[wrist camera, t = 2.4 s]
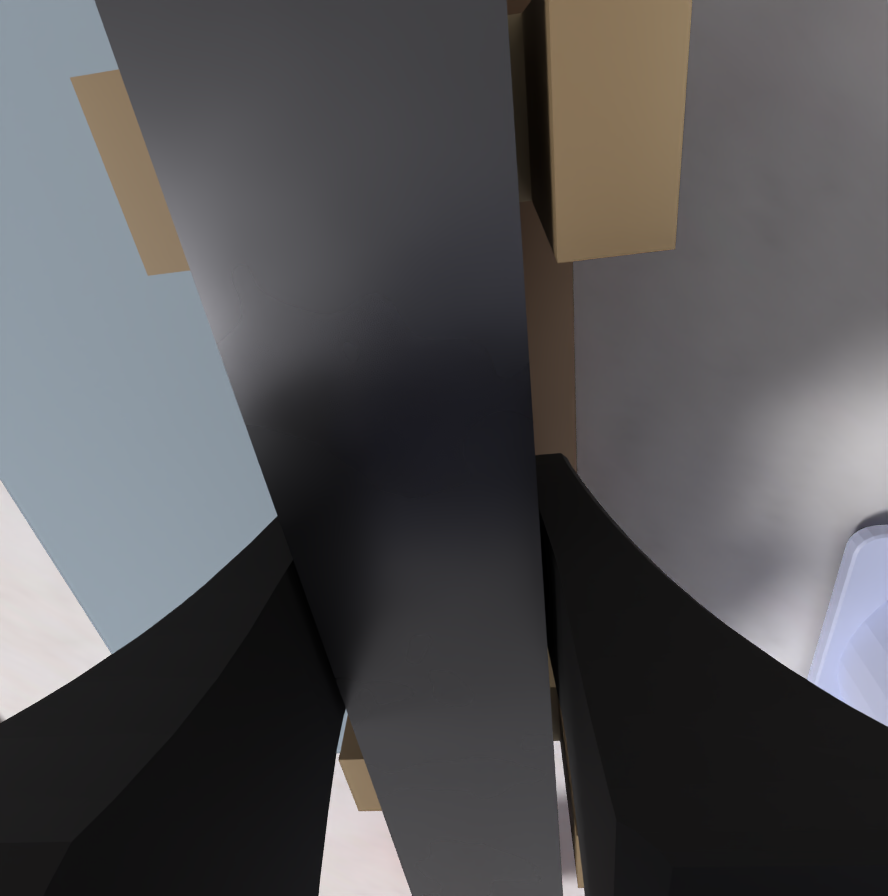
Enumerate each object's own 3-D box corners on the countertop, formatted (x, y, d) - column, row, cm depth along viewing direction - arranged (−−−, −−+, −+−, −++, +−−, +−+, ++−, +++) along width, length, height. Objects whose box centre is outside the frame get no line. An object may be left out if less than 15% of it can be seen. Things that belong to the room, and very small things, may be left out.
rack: (578, -123, 8) (720, -393, 3) (587, 686, 17) (628, 921, 12) (182, -48, 9) (-166, -186, 4) (392, 694, 17) (361, 920, 13)
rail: (476, -238, 6) (475, -480, 3) (550, 787, 15) (565, 931, 13) (182, -173, 6) (-29, -349, 4) (433, 790, 15) (424, 930, 13)
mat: (109, -247, 8) (88, -266, 7) (397, 735, 19) (395, 750, 18) (-357, -139, 8) (-401, -150, 8) (184, 742, 19) (178, 758, 19)
